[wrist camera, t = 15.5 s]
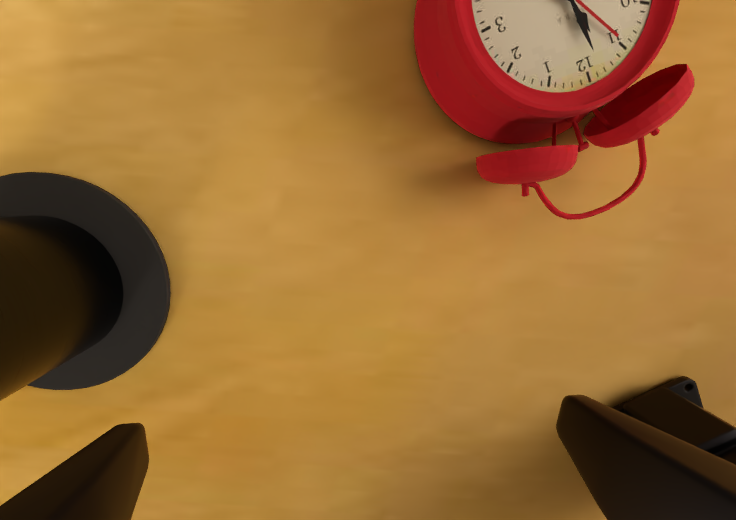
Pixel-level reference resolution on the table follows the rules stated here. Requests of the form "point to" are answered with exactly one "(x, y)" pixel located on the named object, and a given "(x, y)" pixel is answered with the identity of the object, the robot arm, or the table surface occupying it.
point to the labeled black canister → (51, 296)
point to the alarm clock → (549, 78)
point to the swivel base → (131, 254)
